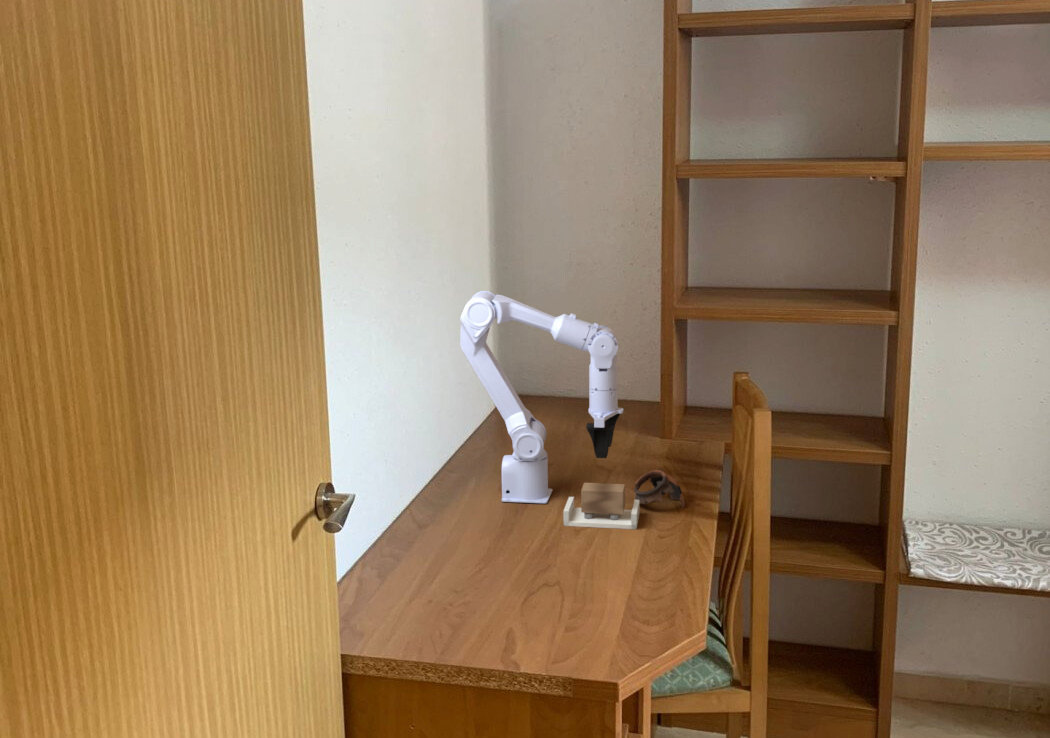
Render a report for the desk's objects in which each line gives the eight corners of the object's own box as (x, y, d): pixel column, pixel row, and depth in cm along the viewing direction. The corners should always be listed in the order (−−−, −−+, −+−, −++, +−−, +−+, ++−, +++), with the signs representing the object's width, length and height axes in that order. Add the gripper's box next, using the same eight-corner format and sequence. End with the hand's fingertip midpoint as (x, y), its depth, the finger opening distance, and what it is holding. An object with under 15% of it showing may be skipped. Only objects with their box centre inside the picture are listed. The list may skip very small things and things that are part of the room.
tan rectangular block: (581, 512, 200) (581, 490, 199) (584, 504, 204) (584, 482, 203) (622, 514, 199) (622, 492, 198) (624, 506, 203) (624, 484, 202)
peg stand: (563, 525, 199) (563, 511, 199) (569, 510, 207) (569, 496, 206) (636, 529, 197) (636, 514, 196) (639, 514, 205) (639, 499, 204)
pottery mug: (690, 515, 205) (672, 484, 202) (647, 533, 207) (629, 503, 204) (684, 481, 216) (667, 451, 212) (643, 498, 218) (626, 469, 215)
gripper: (619, 397, 201) (619, 463, 204) (626, 379, 215) (626, 442, 218) (583, 396, 202) (584, 462, 206) (592, 378, 216) (593, 441, 219)
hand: (603, 451), depth 212 cm, fingers open, 7 cm apart
